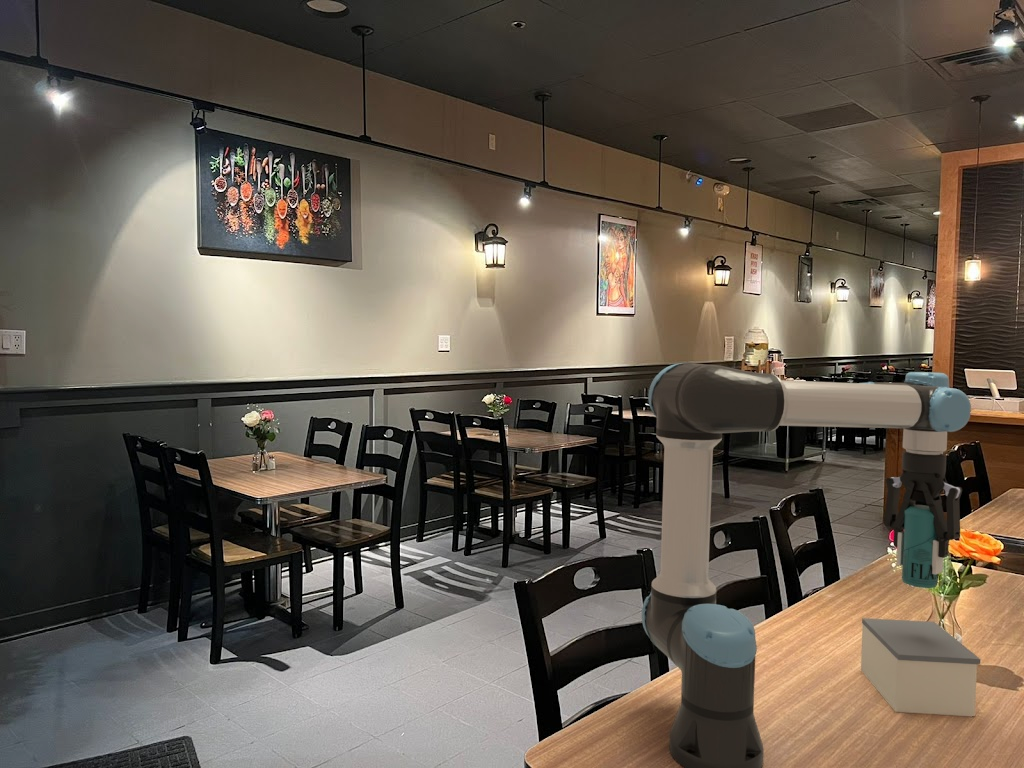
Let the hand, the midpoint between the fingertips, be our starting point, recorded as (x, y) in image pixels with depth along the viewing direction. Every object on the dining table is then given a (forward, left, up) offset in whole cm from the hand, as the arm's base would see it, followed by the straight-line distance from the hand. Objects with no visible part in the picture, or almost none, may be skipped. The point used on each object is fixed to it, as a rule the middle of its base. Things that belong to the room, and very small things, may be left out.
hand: (919, 568), depth 146 cm
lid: (0, 0, -15) cm, 15 cm away
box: (0, 0, -25) cm, 25 cm away
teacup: (+12, +17, -25) cm, 33 cm away
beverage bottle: (0, 0, -5) cm, 5 cm away
